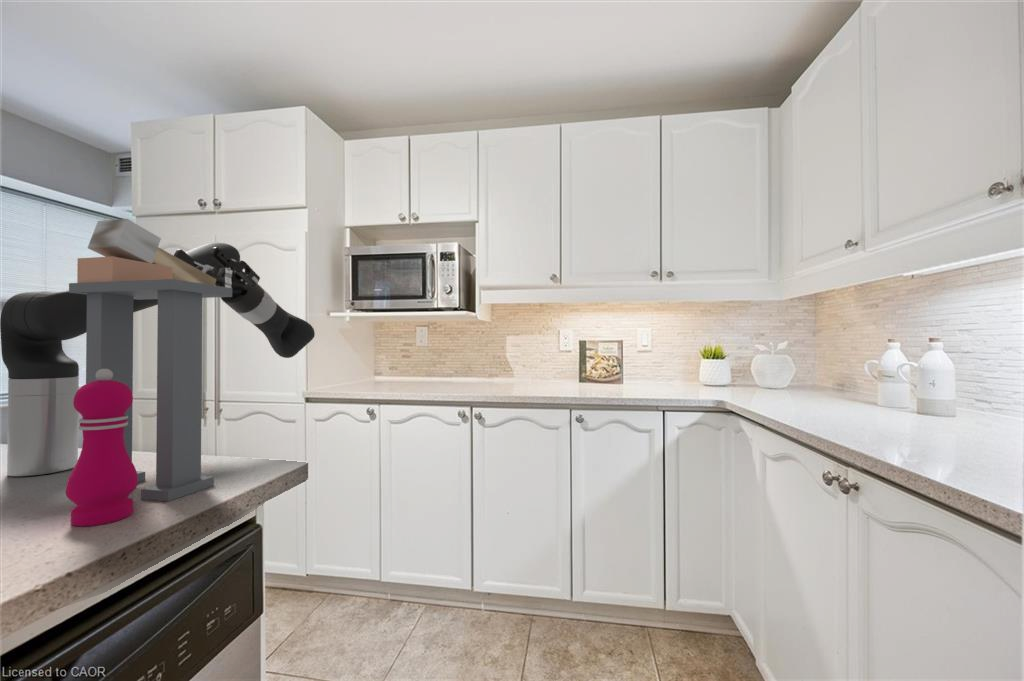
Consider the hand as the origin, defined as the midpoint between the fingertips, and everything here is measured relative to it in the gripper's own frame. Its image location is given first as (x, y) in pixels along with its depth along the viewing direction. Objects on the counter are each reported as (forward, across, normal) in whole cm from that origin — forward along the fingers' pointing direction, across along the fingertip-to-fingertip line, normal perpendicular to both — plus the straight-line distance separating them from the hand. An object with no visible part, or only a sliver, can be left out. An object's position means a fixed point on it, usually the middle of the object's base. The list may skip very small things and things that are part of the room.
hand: (194, 251), depth 90 cm
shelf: (-10, +6, +42) cm, 44 cm away
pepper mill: (+1, +13, +49) cm, 50 cm away
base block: (+7, 0, +14) cm, 15 cm away
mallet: (+3, 0, +8) cm, 9 cm away
